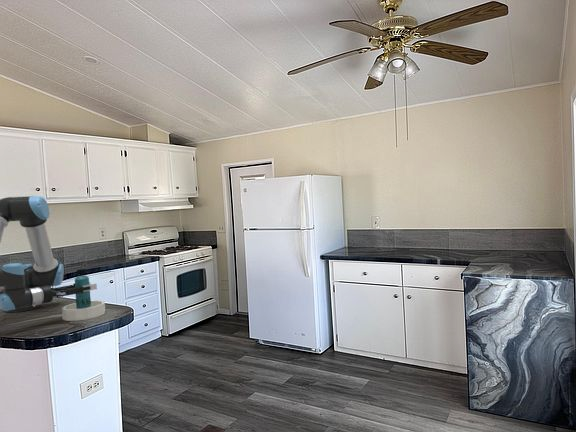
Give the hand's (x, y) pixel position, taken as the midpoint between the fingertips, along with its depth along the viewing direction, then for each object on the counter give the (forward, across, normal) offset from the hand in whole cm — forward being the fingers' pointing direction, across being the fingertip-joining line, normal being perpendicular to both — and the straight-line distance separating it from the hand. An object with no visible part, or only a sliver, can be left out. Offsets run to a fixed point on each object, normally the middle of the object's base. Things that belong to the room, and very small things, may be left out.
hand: (93, 285), depth 202 cm
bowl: (-5, 0, -14) cm, 14 cm away
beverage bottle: (-5, 0, -11) cm, 12 cm away
